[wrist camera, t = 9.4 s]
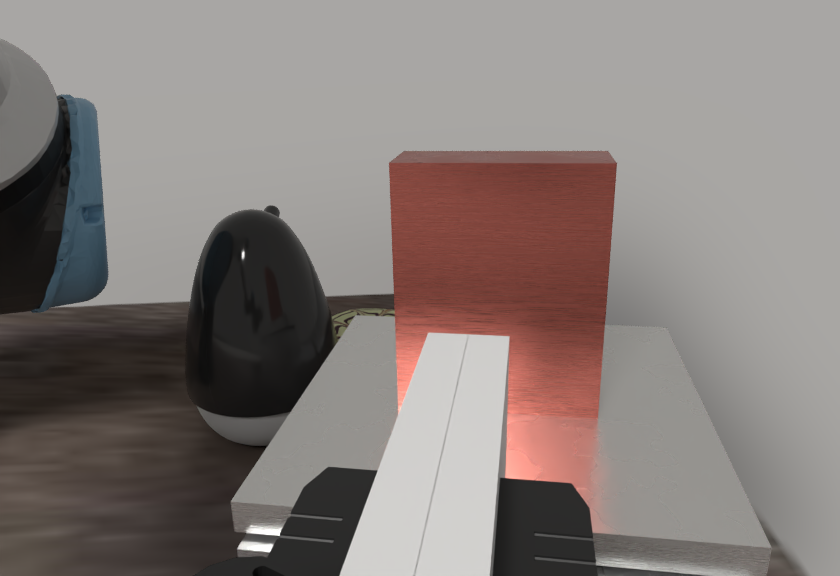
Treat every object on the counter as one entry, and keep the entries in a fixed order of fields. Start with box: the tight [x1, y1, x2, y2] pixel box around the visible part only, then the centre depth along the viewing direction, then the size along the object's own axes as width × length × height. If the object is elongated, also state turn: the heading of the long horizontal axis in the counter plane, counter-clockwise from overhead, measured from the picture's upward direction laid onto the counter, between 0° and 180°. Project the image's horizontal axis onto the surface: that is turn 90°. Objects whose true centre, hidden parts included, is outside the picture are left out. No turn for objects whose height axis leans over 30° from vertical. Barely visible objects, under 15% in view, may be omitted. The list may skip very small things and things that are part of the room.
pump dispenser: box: [185, 206, 338, 446], centre depth 44 cm, size 10×10×15 cm
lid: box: [231, 151, 771, 576], centre depth 27 cm, size 17×17×11 cm
